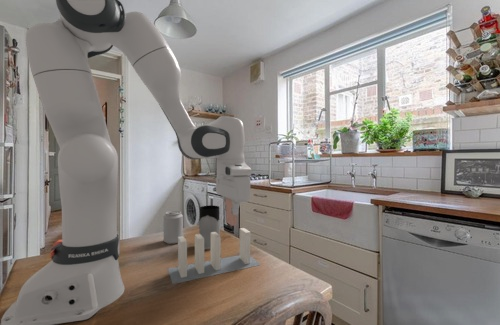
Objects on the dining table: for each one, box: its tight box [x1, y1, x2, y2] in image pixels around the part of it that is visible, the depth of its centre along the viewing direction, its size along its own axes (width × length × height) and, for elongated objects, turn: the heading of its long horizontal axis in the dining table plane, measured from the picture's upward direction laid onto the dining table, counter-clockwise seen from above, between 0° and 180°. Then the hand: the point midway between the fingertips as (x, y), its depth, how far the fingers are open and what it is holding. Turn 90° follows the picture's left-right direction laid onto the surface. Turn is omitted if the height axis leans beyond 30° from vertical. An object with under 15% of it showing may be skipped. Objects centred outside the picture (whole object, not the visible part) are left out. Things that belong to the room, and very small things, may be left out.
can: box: [163, 210, 184, 245], centre depth 98 cm, size 8×8×12 cm
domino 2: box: [194, 233, 205, 274], centre depth 72 cm, size 2×5×10 cm, turn 26°
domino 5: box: [239, 227, 252, 264], centre depth 79 cm, size 2×5×10 cm, turn 26°
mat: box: [167, 254, 262, 285], centre depth 75 cm, size 27×10×1 cm, turn 116°
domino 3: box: [210, 232, 222, 270], centre depth 75 cm, size 2×5×10 cm, turn 26°
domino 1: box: [177, 235, 188, 278], centre depth 70 cm, size 2×5×10 cm, turn 26°
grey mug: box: [198, 204, 221, 250], centre depth 96 cm, size 9×14×15 cm, turn 178°
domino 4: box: [225, 198, 238, 227], centre depth 77 cm, size 2×5×10 cm, turn 26°
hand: (231, 212), depth 77 cm, fingers closed on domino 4, 5 cm apart
